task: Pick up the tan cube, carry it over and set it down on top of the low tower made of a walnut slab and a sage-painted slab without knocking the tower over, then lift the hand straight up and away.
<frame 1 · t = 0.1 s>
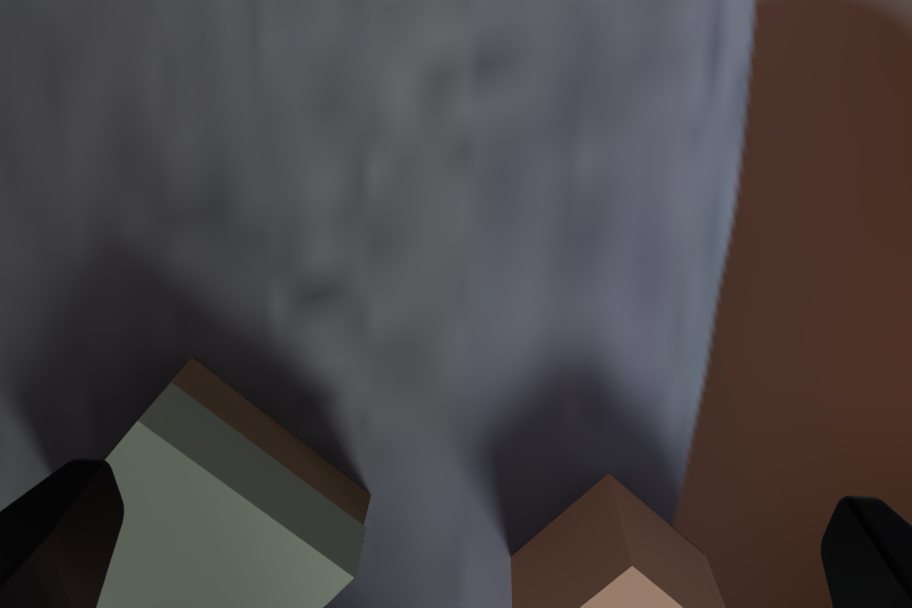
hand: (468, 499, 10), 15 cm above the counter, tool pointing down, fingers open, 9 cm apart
tan cube: (606, 554, 28), on the counter
walnut slab: (222, 490, 29), on the counter, touching sage slab
sage slab: (202, 532, 26), point 2 cm above the counter, touching walnut slab
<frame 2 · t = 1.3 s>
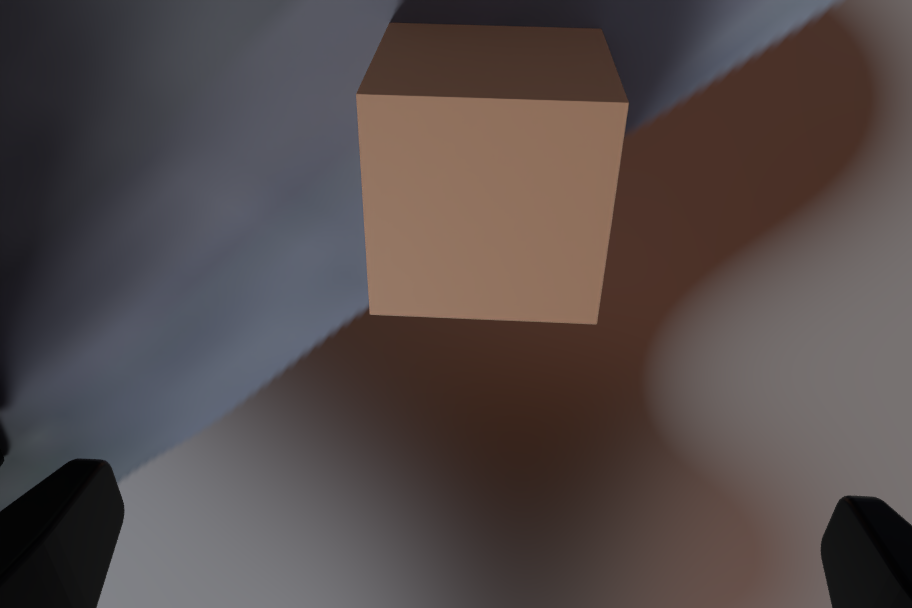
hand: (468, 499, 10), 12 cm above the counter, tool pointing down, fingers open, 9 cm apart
tan cube: (490, 125, 20), on the counter
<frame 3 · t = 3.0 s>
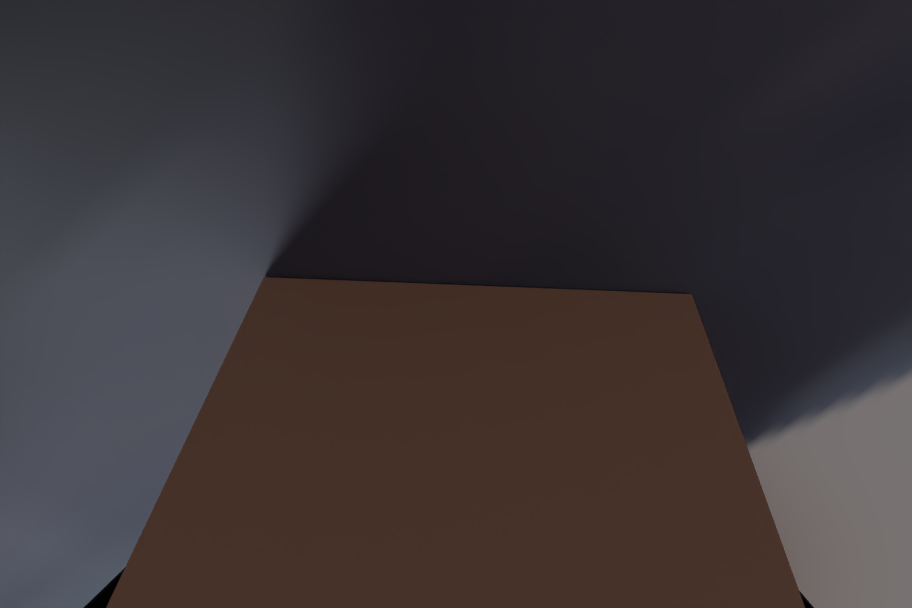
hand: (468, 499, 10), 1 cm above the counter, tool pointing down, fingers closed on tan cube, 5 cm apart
tan cube: (470, 440, 10), on the counter, touching gripper
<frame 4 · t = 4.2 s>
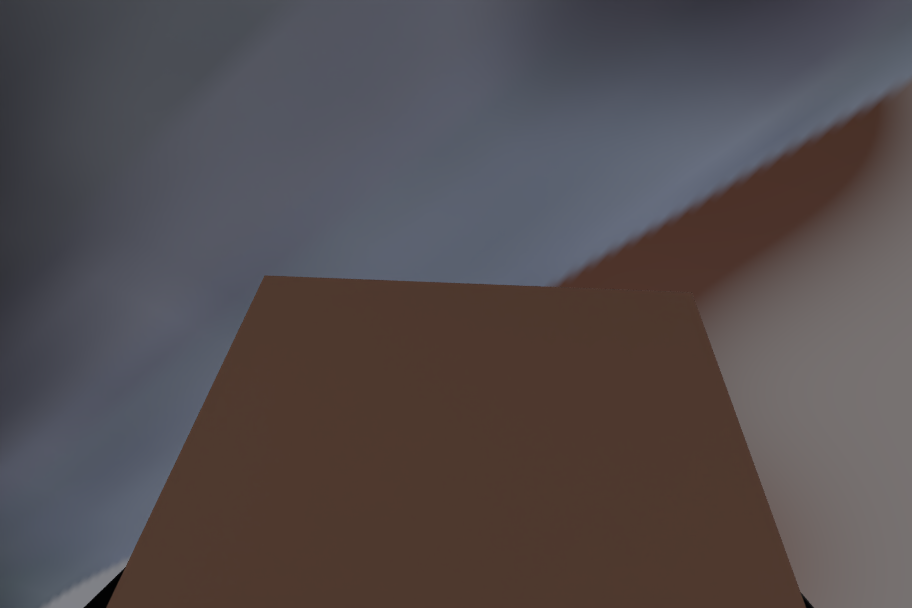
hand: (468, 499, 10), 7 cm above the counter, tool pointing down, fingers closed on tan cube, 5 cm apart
tan cube: (470, 438, 10), point 6 cm above the counter, touching gripper
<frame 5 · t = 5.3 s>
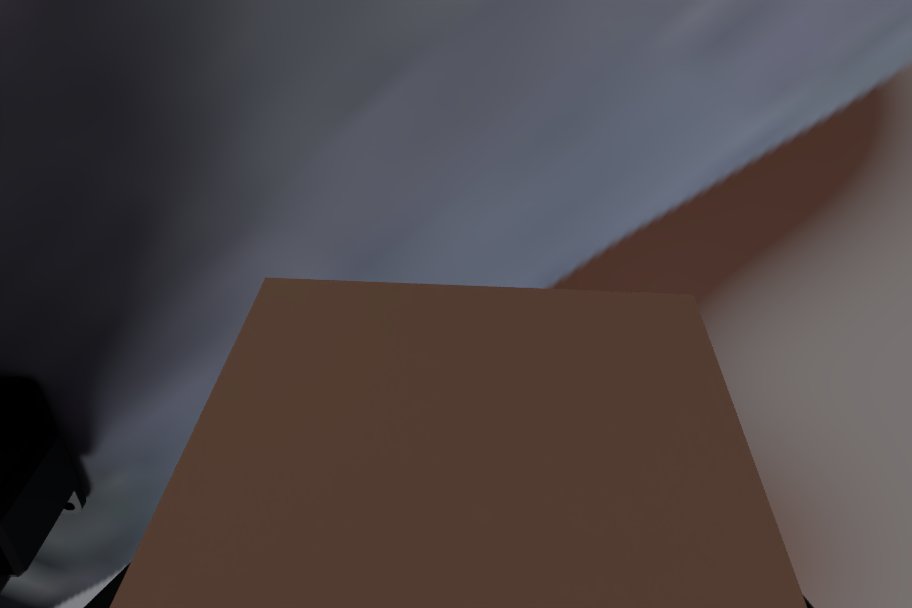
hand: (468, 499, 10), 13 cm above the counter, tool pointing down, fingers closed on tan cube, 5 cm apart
tan cube: (472, 440, 10), point 12 cm above the counter, touching gripper
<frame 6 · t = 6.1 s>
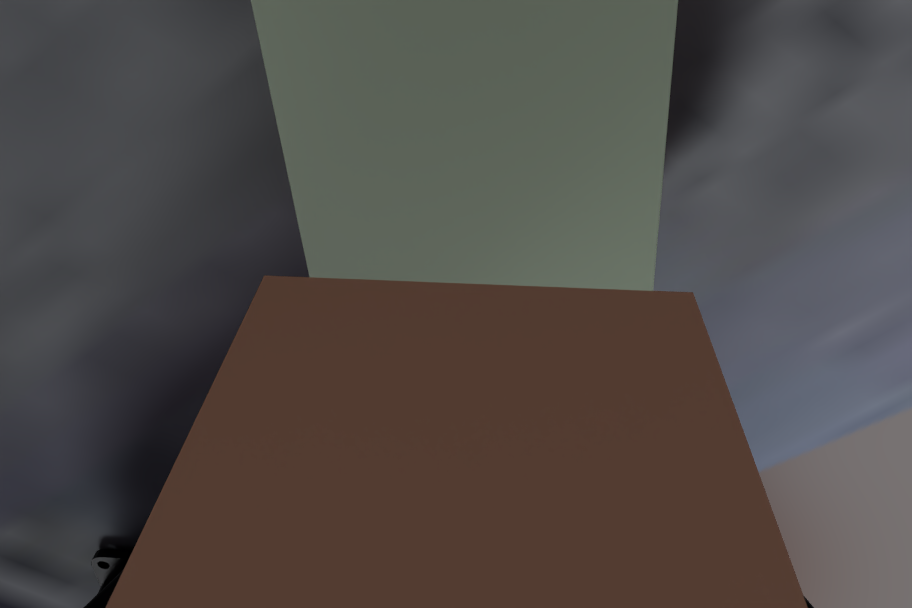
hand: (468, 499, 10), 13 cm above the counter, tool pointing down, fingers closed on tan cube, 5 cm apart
tan cube: (471, 439, 10), point 12 cm above the counter, touching gripper
sage slab: (476, 122, 18), point 2 cm above the counter, touching walnut slab
when the fingers open (7 cm above the counter, at t = 7.9 s): tan cube drops 1 cm, resting on sage slab.
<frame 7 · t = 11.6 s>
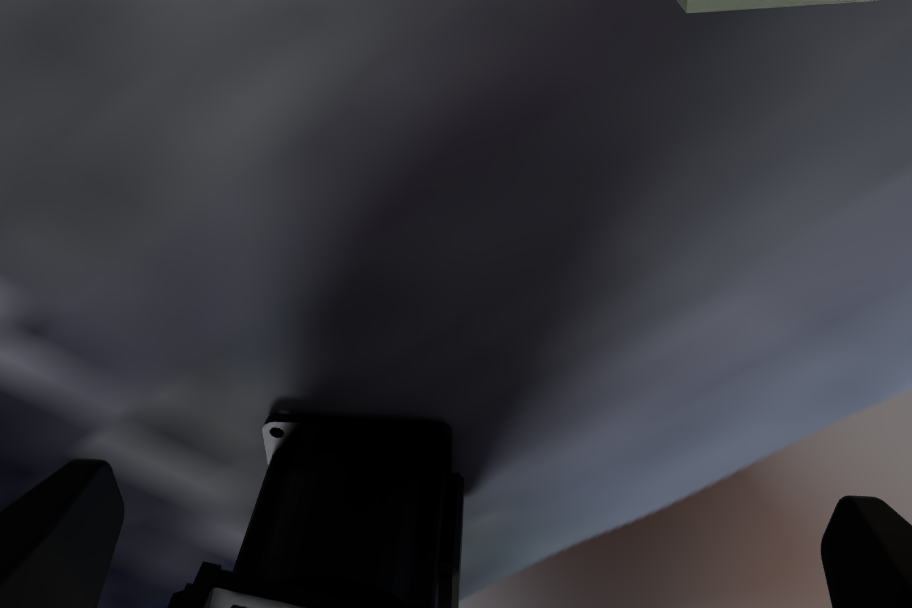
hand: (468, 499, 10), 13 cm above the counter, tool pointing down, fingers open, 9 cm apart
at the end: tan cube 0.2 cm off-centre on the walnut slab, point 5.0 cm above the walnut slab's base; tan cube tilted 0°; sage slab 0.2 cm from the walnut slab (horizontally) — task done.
